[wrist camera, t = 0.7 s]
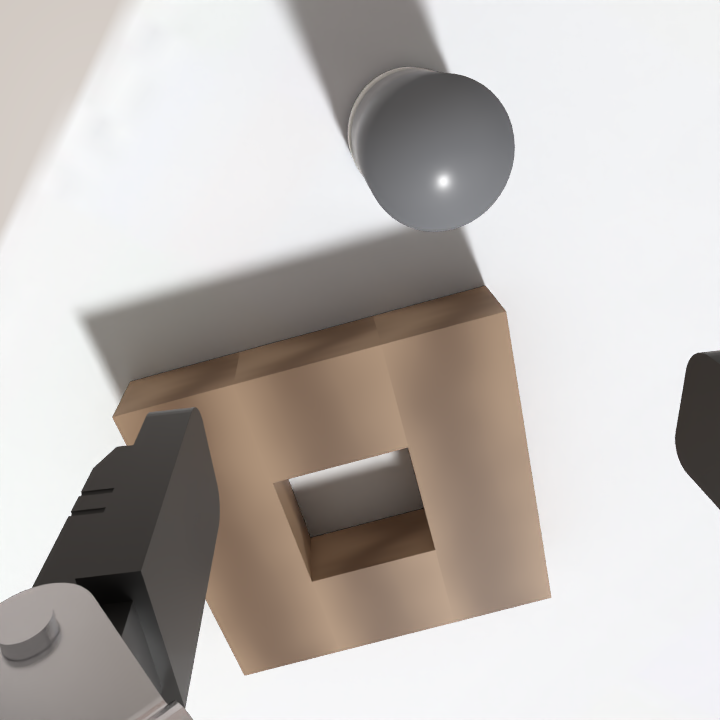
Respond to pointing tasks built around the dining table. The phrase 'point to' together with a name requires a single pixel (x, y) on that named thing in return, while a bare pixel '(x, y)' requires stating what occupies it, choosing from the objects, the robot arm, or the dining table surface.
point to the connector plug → (431, 146)
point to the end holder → (353, 443)
